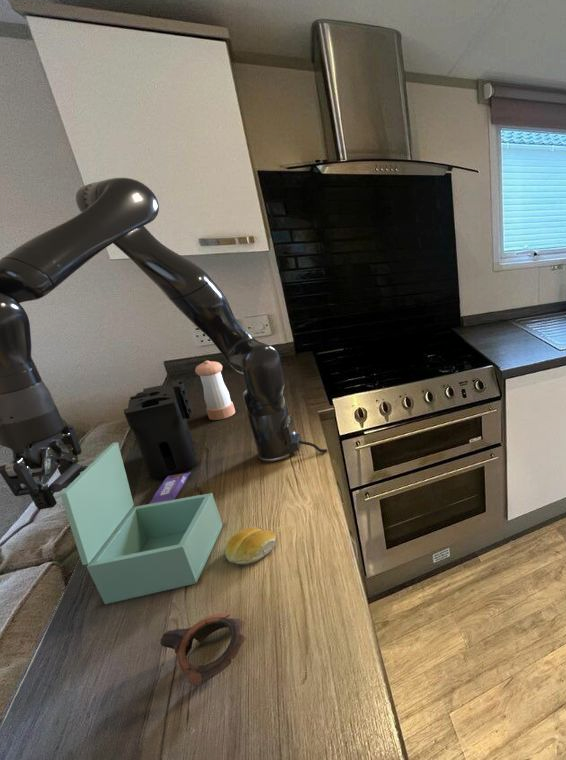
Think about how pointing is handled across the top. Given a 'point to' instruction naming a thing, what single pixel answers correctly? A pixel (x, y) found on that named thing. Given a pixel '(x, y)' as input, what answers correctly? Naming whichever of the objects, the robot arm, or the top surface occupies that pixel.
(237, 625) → the brown ring with stub
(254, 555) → the bread roll
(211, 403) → the pepper shaker
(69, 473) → the cold box lid
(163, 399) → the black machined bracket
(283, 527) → the top surface
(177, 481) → the snack package
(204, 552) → the box
